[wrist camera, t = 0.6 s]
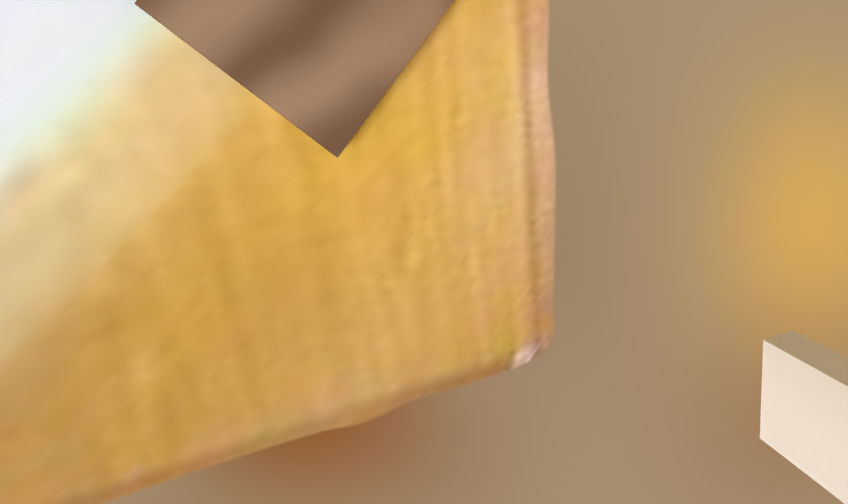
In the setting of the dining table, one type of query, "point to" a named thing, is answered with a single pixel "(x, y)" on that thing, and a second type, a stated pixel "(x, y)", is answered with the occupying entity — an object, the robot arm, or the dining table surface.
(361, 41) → the walnut coaster board
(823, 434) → the robot arm
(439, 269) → the dining table surface
